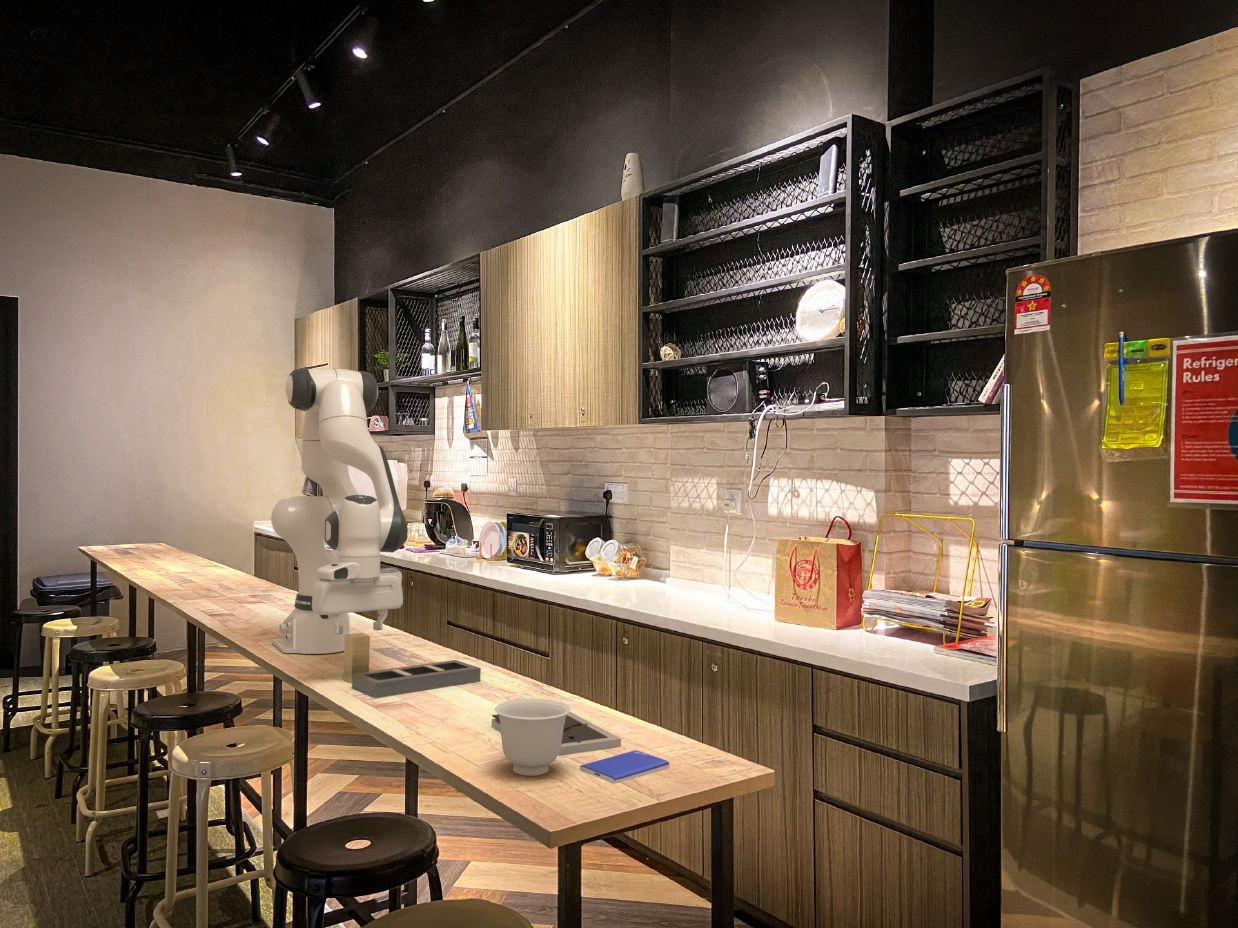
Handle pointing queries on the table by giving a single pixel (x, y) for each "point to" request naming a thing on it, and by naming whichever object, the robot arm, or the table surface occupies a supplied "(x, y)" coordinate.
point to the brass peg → (356, 655)
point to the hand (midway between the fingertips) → (358, 632)
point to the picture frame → (579, 736)
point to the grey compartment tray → (415, 678)
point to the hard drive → (625, 766)
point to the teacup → (531, 733)
